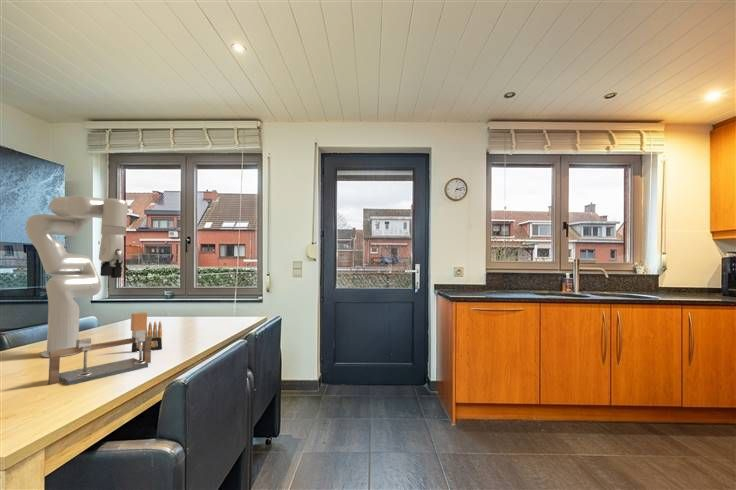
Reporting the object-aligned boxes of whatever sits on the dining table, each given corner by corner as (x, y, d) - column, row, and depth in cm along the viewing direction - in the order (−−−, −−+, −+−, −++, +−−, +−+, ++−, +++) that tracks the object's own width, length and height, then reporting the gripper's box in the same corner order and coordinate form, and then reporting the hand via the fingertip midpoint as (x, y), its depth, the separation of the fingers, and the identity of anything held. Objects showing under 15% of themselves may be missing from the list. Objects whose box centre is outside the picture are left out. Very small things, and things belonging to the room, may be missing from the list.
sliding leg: (129, 359, 124) (131, 313, 124) (141, 357, 127) (143, 312, 128) (135, 361, 121) (136, 314, 122) (147, 359, 124) (149, 313, 125)
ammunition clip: (131, 352, 141) (132, 323, 141) (132, 351, 142) (133, 322, 143) (161, 349, 145) (162, 321, 146) (162, 348, 147) (162, 320, 148)
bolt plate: (56, 377, 110) (56, 373, 110) (135, 360, 129) (135, 357, 129) (68, 385, 103) (68, 380, 104) (150, 366, 122) (150, 362, 122)
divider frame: (46, 383, 105) (48, 343, 106) (148, 361, 128) (149, 328, 129) (51, 386, 103) (53, 345, 103) (153, 363, 126) (155, 330, 126)
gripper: (93, 230, 131) (90, 275, 131) (111, 230, 122) (107, 278, 121) (116, 232, 138) (113, 275, 137) (134, 232, 128) (131, 278, 127)
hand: (110, 276), depth 129 cm, fingers open, 9 cm apart
